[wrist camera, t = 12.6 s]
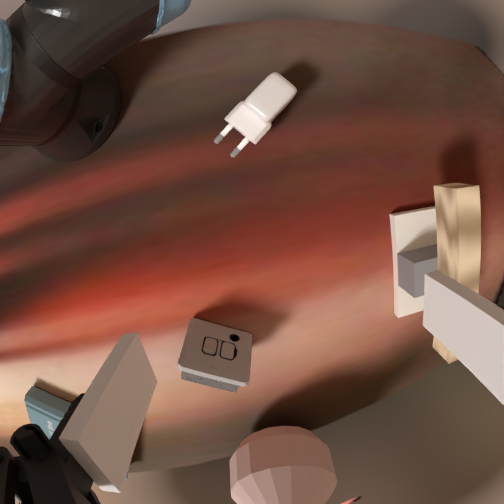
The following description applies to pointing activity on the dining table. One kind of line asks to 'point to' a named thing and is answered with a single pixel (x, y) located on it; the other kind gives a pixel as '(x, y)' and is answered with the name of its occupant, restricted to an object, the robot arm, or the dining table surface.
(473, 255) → the beam
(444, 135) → the dining table surface
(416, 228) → the fulcrum
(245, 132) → the power adapter
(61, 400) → the book
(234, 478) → the vase
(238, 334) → the electrical switch
